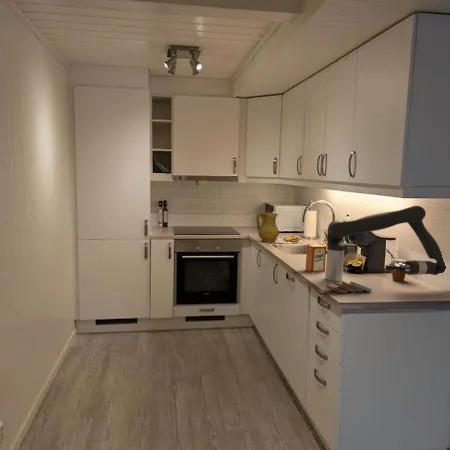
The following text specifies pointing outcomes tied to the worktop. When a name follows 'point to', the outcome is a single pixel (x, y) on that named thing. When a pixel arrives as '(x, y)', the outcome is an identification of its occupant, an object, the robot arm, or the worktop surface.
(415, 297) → the worktop surface
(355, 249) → the coffee box
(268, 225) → the pitcher
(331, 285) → the domino
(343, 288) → the domino
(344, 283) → the domino
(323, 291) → the domino
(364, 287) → the domino
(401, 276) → the disposable coffee cup
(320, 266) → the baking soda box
